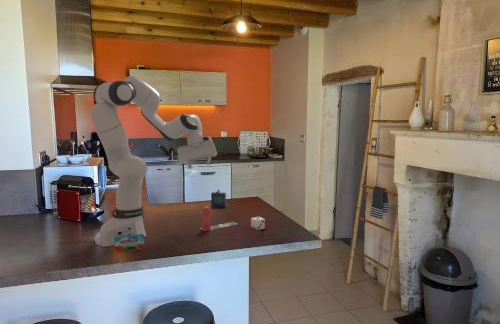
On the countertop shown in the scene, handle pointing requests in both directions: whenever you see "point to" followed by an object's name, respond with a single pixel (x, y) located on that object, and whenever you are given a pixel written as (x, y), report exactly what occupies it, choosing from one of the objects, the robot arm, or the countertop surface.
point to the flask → (218, 199)
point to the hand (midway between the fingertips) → (199, 166)
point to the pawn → (206, 218)
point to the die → (258, 223)
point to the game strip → (221, 225)
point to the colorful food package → (129, 242)
